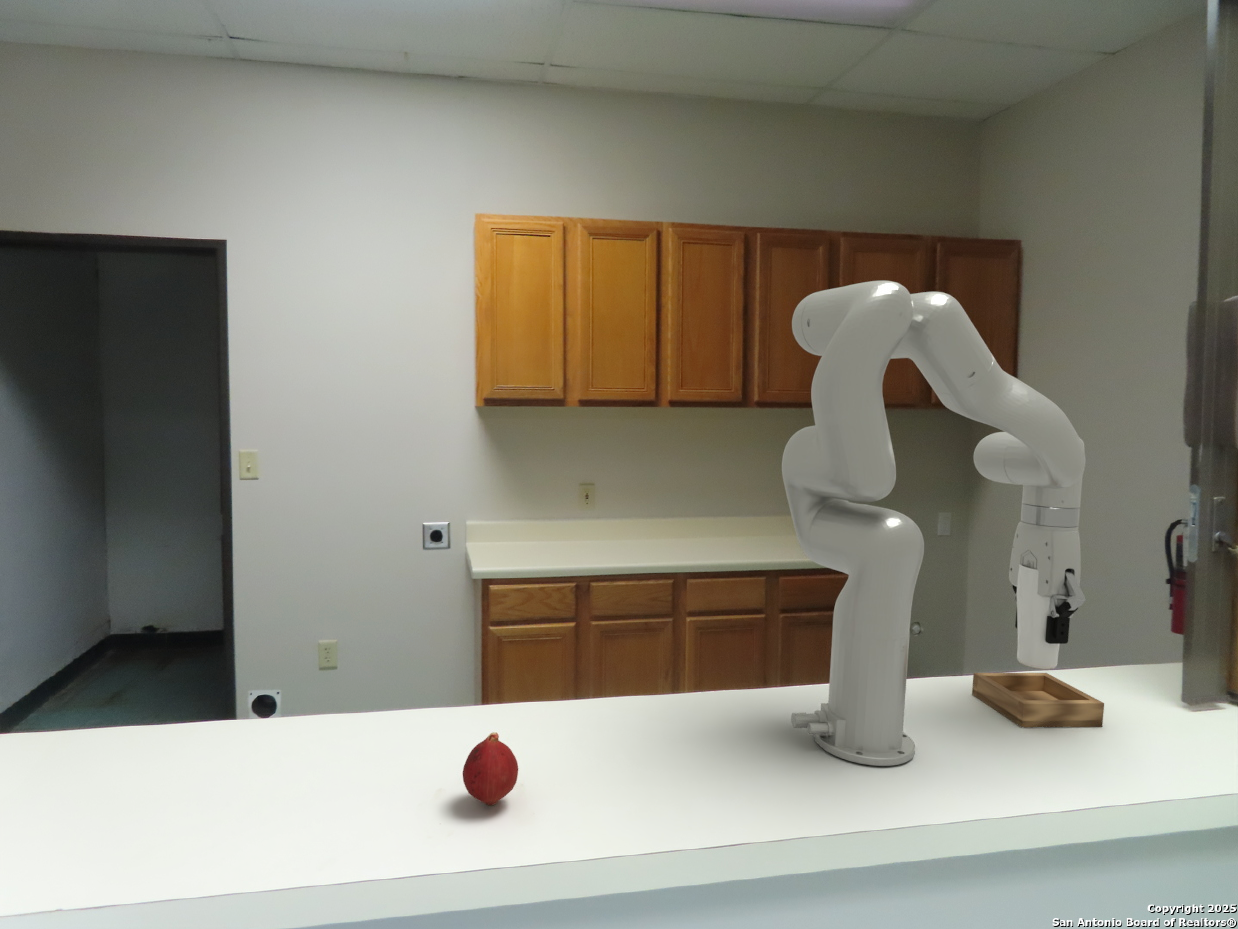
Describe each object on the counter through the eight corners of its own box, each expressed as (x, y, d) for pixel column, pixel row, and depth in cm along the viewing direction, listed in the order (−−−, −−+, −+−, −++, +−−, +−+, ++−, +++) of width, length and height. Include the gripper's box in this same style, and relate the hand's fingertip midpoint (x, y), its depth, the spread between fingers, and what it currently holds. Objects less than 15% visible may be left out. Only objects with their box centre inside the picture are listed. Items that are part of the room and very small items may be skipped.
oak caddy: (1022, 727, 107) (1023, 703, 106) (972, 694, 119) (973, 673, 119) (1102, 727, 108) (1104, 703, 108) (1044, 694, 120) (1046, 672, 120)
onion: (468, 823, 77) (470, 748, 77) (457, 796, 82) (459, 725, 82) (523, 813, 79) (525, 740, 79) (508, 787, 85) (510, 718, 84)
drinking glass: (1049, 658, 116) (1057, 563, 115) (1071, 674, 109) (1079, 573, 108) (1003, 655, 117) (1011, 561, 116) (1022, 671, 110) (1030, 570, 109)
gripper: (990, 509, 120) (983, 619, 121) (1066, 526, 102) (1056, 655, 104) (1034, 509, 120) (1026, 619, 122) (1117, 527, 103) (1106, 654, 105)
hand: (1040, 634), depth 113 cm, fingers closed on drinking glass, 6 cm apart
